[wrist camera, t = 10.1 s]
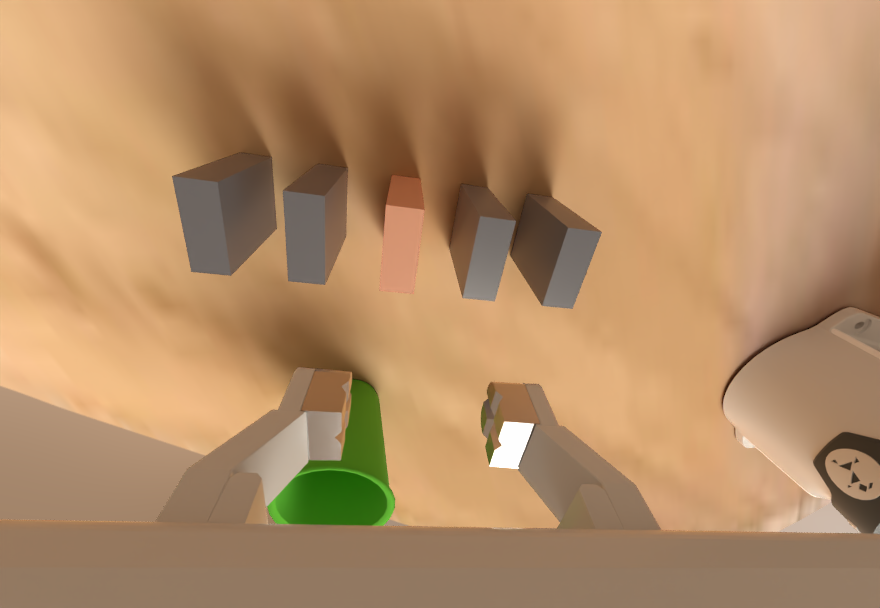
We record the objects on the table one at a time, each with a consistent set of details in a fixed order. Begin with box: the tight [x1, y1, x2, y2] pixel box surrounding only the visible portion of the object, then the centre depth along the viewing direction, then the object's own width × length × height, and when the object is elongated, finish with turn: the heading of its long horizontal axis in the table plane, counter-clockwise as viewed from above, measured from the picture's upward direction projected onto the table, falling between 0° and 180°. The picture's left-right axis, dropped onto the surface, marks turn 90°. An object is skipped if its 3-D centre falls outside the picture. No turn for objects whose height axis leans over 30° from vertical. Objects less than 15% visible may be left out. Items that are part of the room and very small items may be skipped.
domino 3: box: [379, 175, 425, 294], centre depth 23 cm, size 2×5×8 cm, turn 171°
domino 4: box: [449, 184, 516, 301], centre depth 24 cm, size 2×5×8 cm, turn 171°
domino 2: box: [283, 164, 348, 285], centre depth 23 cm, size 2×5×8 cm, turn 171°
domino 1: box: [172, 153, 277, 276], centre depth 22 cm, size 2×5×8 cm, turn 171°
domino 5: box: [511, 194, 602, 309], centre depth 25 cm, size 2×5×8 cm, turn 171°
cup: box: [267, 379, 395, 526], centre depth 31 cm, size 9×9×11 cm
